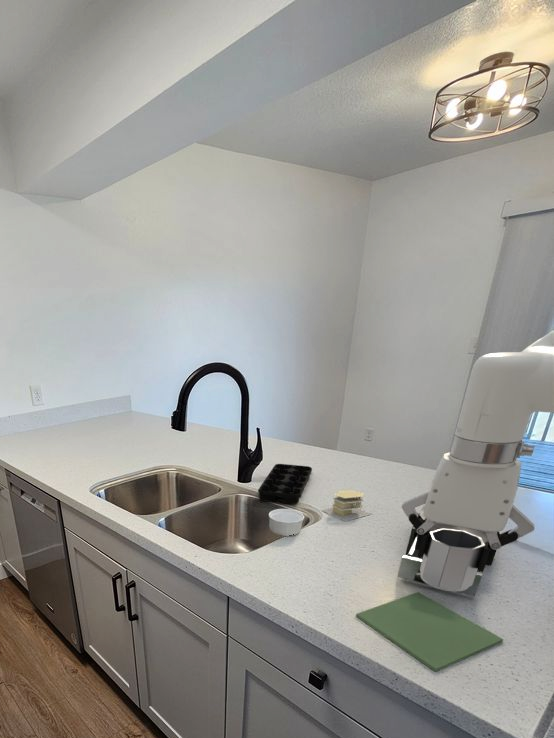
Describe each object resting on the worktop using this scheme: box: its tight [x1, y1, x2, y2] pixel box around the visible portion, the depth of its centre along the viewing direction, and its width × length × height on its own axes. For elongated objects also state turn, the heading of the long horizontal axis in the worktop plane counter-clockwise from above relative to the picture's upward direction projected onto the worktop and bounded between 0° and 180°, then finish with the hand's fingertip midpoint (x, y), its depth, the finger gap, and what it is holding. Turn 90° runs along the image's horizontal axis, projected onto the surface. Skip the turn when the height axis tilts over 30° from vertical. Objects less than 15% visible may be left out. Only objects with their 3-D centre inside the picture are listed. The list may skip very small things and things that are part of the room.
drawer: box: [396, 534, 484, 598], centre depth 89 cm, size 19×13×5 cm
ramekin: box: [268, 508, 305, 537], centre depth 114 cm, size 9×9×4 cm
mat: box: [355, 591, 504, 673], centre depth 77 cm, size 16×16×1 cm
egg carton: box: [257, 463, 313, 505], centre depth 141 cm, size 18×30×4 cm, turn 166°
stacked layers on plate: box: [320, 489, 373, 522], centre depth 122 cm, size 10×9×6 cm
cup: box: [420, 528, 486, 592], centre depth 68 cm, size 7×7×8 cm
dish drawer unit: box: [405, 505, 488, 572], centre depth 100 cm, size 16×15×7 cm
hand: (450, 560), depth 68 cm, fingers closed on cup, 7 cm apart
